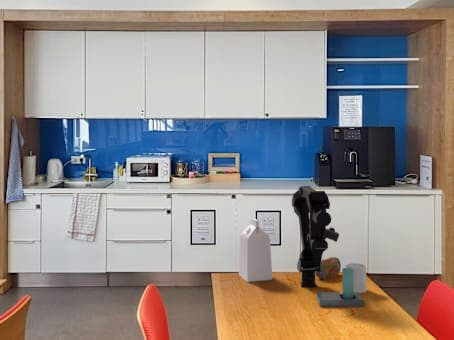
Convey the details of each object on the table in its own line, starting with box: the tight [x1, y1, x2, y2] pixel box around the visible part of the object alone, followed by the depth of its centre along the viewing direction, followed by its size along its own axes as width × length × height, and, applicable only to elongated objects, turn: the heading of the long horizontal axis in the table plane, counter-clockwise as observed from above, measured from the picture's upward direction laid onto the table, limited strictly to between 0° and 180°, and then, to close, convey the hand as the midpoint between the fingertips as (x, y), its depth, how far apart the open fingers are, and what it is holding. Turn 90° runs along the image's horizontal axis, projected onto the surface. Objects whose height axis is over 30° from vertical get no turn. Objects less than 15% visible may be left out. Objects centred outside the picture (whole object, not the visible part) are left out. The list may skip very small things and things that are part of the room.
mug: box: [345, 262, 367, 294], centre depth 237 cm, size 12×8×10 cm, turn 1°
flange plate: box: [316, 291, 365, 308], centre depth 220 cm, size 10×16×3 cm, turn 88°
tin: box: [315, 256, 342, 280], centre depth 258 cm, size 15×3×8 cm, turn 131°
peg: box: [342, 267, 353, 299], centre depth 218 cm, size 4×4×13 cm
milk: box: [238, 218, 273, 283], centre depth 259 cm, size 12×12×26 cm
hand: (317, 262), depth 230 cm, fingers open, 9 cm apart
